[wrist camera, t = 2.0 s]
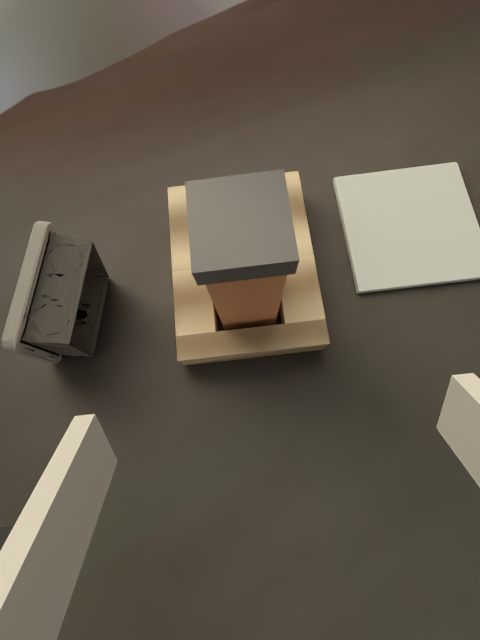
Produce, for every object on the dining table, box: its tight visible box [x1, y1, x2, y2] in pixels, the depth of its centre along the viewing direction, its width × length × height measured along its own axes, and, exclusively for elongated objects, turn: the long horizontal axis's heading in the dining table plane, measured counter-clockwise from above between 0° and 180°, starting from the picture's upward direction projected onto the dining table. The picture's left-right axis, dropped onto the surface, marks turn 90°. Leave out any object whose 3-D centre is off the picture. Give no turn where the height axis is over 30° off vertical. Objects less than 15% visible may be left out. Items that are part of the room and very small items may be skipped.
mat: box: [333, 162, 480, 294], centre depth 29 cm, size 12×12×1 cm
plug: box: [185, 169, 299, 331], centre depth 22 cm, size 5×5×14 cm
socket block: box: [168, 171, 330, 365], centre depth 28 cm, size 16×12×3 cm
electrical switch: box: [1, 221, 109, 363], centre depth 25 cm, size 9×5×9 cm, turn 175°
